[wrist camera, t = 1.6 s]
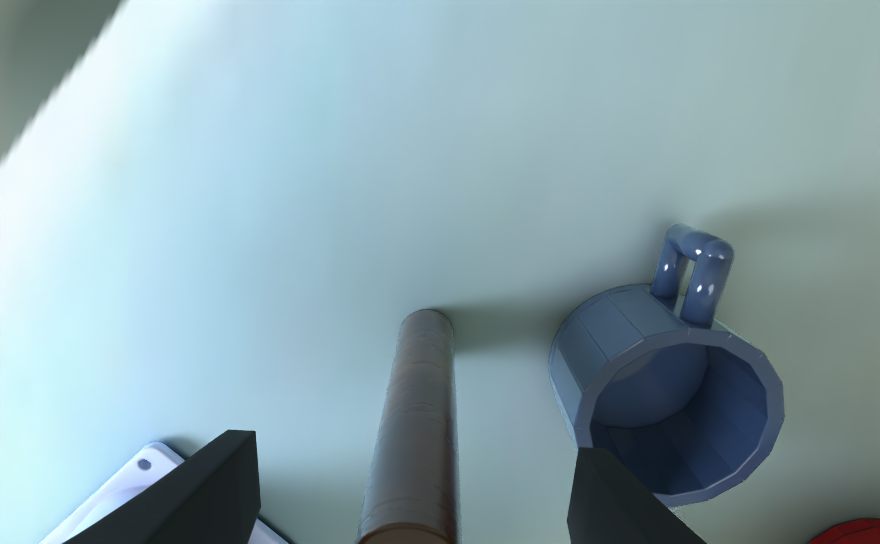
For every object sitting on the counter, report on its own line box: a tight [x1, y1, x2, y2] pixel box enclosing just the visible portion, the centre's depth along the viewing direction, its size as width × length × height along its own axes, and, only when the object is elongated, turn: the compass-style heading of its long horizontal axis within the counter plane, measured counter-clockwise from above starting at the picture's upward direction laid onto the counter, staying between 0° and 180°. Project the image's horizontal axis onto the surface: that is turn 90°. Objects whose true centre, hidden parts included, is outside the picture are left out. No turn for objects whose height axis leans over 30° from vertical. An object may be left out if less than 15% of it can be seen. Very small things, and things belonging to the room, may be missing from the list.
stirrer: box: [355, 310, 462, 544], centre depth 13 cm, size 2×2×10 cm
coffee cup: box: [549, 224, 785, 508], centre depth 16 cm, size 9×6×4 cm
